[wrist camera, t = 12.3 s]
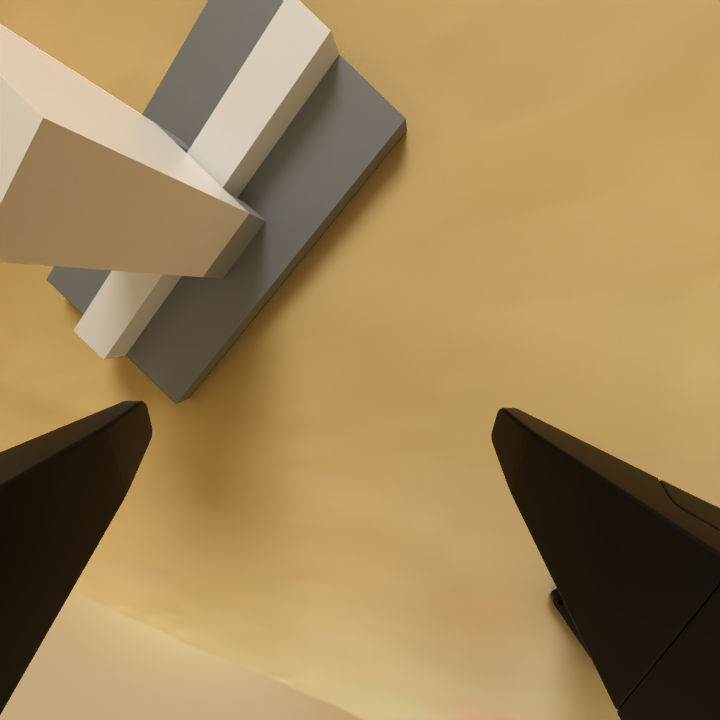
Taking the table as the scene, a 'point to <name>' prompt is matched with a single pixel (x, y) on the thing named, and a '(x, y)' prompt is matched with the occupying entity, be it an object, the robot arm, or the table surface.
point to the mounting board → (272, 194)
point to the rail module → (103, 180)
